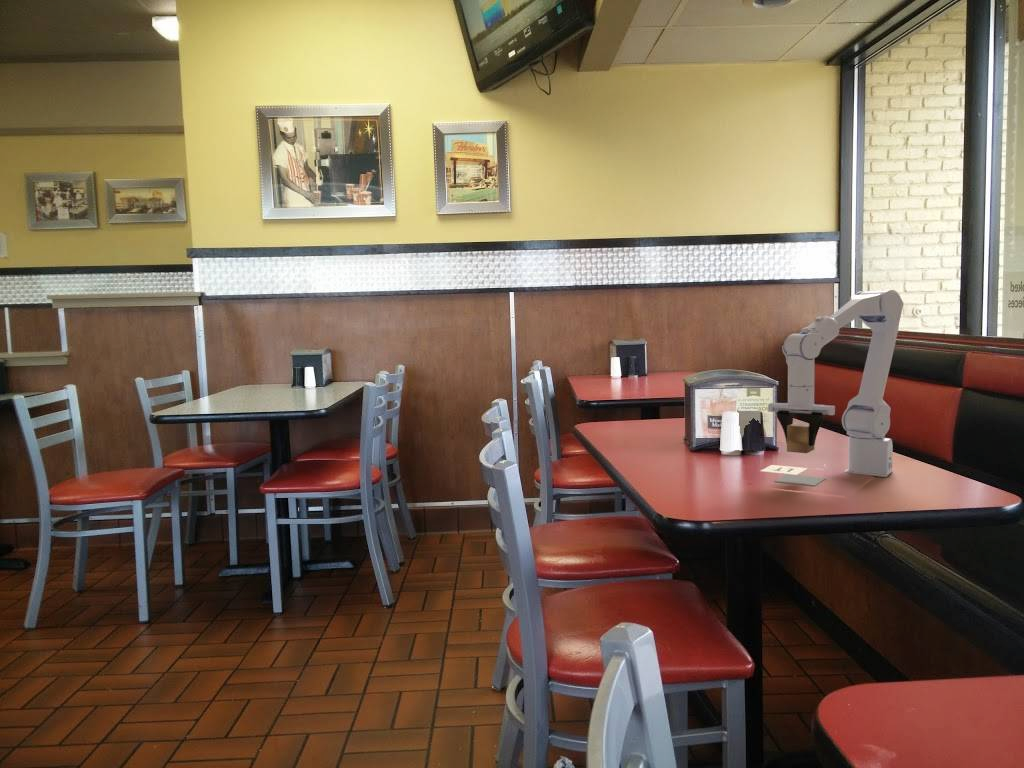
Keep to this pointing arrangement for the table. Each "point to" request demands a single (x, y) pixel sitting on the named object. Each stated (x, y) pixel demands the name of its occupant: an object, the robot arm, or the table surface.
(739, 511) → the table surface
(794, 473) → the tile
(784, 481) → the grey mat
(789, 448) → the walnut block
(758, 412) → the grey upright block
